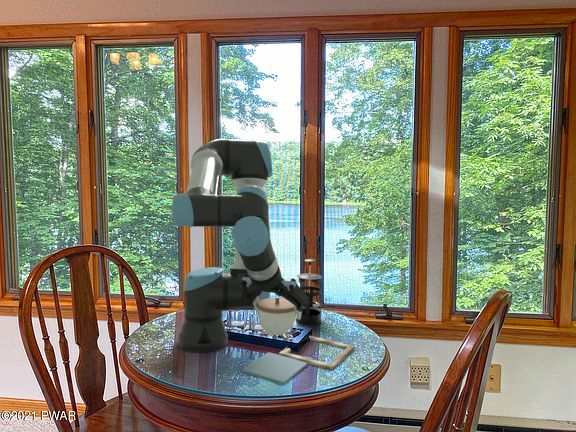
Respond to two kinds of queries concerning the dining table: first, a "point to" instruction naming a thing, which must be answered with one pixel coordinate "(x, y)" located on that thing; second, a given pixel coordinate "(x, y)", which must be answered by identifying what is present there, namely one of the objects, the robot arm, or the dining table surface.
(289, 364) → the rubber mat
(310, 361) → the birch frame
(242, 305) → the robot arm
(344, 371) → the dining table surface
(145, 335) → the dining table surface
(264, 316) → the lidded jar
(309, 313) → the french press
